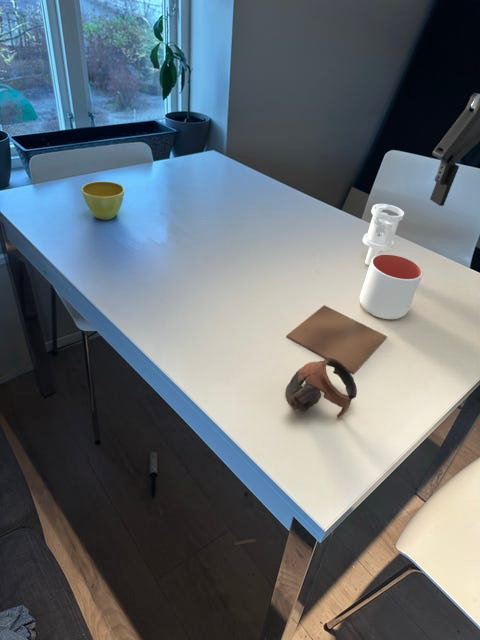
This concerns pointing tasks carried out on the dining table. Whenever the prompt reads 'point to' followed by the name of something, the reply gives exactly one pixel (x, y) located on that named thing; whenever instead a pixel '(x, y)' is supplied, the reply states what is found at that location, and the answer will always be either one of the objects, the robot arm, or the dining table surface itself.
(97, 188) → the flower pot
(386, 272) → the cup
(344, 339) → the coaster
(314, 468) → the dining table surface
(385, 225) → the white openwork cylinder
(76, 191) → the dining table surface
